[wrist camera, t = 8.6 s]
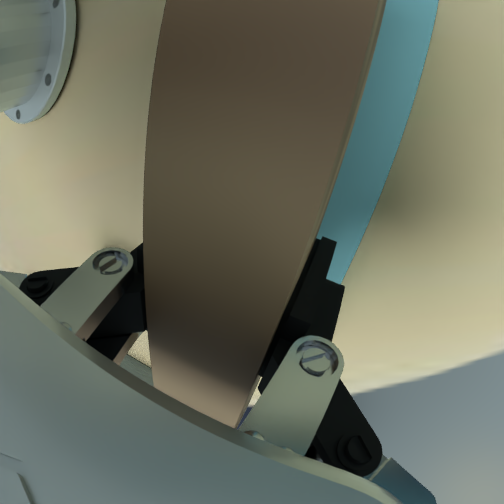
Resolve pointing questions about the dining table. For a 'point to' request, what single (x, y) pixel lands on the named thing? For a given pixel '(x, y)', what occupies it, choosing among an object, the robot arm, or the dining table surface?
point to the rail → (241, 178)
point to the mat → (378, 126)
